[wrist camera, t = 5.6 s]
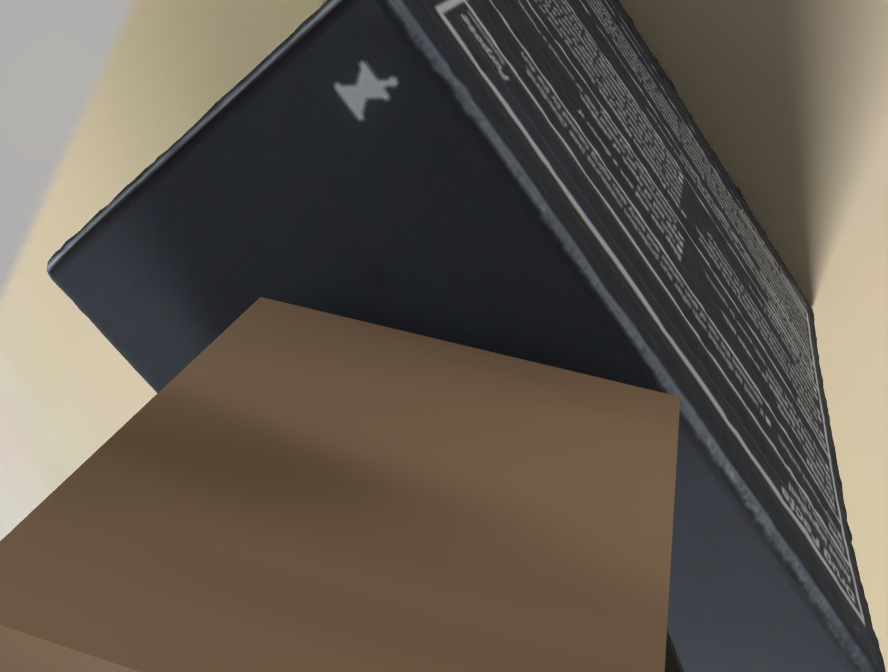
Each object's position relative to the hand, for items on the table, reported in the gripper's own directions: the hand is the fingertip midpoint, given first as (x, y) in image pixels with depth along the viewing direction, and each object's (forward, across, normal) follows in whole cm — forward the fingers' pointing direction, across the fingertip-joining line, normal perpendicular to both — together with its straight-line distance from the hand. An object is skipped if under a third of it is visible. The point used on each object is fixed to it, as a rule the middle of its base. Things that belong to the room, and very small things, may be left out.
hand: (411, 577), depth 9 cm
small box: (+12, 0, 0) cm, 12 cm away
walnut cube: (+1, 0, 0) cm, 1 cm away
